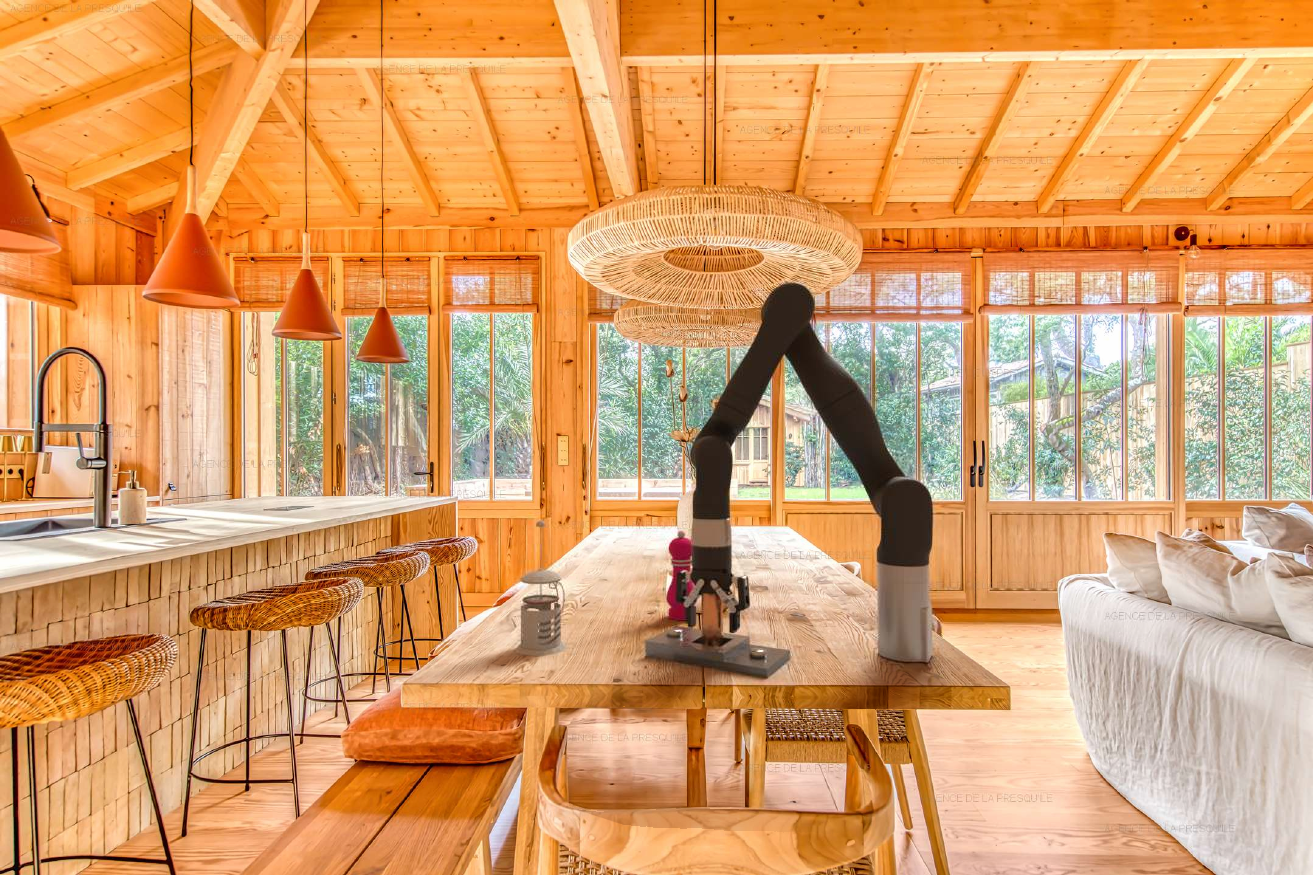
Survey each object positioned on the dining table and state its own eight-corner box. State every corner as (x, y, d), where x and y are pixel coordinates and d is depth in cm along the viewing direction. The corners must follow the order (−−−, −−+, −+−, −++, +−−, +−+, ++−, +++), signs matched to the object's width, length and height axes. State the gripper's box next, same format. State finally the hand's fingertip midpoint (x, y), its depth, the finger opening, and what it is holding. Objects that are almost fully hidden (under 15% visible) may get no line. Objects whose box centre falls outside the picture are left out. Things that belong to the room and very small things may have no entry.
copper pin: (726, 655, 124) (726, 591, 124) (717, 661, 121) (717, 595, 121) (707, 652, 126) (706, 589, 126) (698, 658, 123) (697, 593, 123)
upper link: (749, 652, 126) (749, 631, 126) (723, 670, 116) (723, 647, 116) (675, 640, 134) (675, 620, 134) (645, 656, 124) (645, 635, 124)
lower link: (790, 658, 122) (790, 644, 122) (767, 677, 112) (767, 662, 112) (702, 644, 131) (702, 632, 131) (673, 661, 121) (673, 647, 121)
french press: (504, 651, 128) (504, 521, 128) (542, 636, 138) (541, 516, 139) (545, 658, 123) (545, 524, 124) (581, 642, 133) (580, 518, 134)
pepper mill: (700, 614, 156) (699, 529, 157) (693, 621, 149) (693, 532, 150) (670, 612, 158) (670, 528, 159) (662, 619, 151) (662, 532, 152)
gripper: (754, 542, 124) (755, 629, 123) (686, 537, 131) (687, 620, 130) (738, 547, 117) (739, 639, 117) (668, 542, 124) (669, 629, 124)
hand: (712, 629), depth 123 cm, fingers open, 8 cm apart
